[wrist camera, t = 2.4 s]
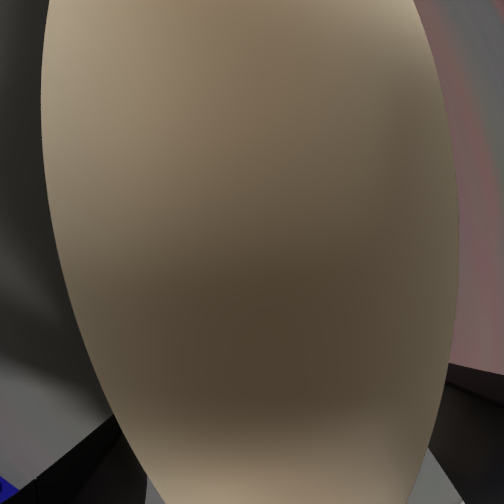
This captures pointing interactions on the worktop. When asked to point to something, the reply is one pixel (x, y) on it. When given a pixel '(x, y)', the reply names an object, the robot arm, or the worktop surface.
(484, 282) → the worktop surface
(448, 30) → the worktop surface
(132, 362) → the batten
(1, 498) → the cable clip
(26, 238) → the worktop surface
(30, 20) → the worktop surface
